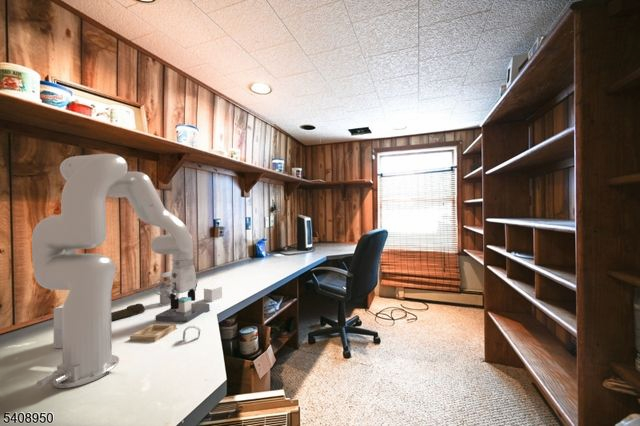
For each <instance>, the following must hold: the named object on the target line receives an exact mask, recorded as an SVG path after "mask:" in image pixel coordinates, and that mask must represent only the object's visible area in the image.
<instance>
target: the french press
mask: <svg viewBox="0 0 640 426" xmlns="http://www.w3.org/2000/svg"><path fill="white" fill-rule="evenodd" d="M167 255H168V256H171V255H172V254H166V256H167ZM171 273H172V271H170V270H168V271H166V272H163V273H162V274H160V275H159V277H160V278H168V281H165V282H162V280H161V279H160V278H159V279H156V281H155V282H154V283H153V285H152V287H153V288H152V290H153V292H154V294H156V295H158V296H159V303H158V304H157V305H159V307H168V305H169V306H171V299H169V297H168V296H167V293H166V290H167V289H168V288H169V287H170V286H171ZM158 282H159V283H160V284H161V286H160V287H159V288H160V290H159V291H160V293H157V292H156V290H155V289H156V288H155V287H156V284H157V283H158ZM174 295H176V293H175V294H174ZM179 297H180V295H179V296H178V298H177V299H180V298H179Z"/></svg>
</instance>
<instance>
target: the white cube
mask: <svg viewBox="0 0 640 426" xmlns="http://www.w3.org/2000/svg"><path fill="white" fill-rule="evenodd" d="M220 298H221V299H223V287H222V286H219V285H211V286H208V287H204V288H203V300H204V301H205V300H207V301H206V302H210V301H213V302H216V301H218V300H220ZM217 299H218V300H217ZM215 300H216V301H215Z"/></svg>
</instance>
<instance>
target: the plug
mask: <svg viewBox="0 0 640 426" xmlns="http://www.w3.org/2000/svg"><path fill="white" fill-rule="evenodd" d="M191 303H192V301H191V297H188V296H183V297H180V298H179V308H178V309H176V312H187V311H189V310H191Z"/></svg>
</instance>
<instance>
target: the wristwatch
mask: <svg viewBox="0 0 640 426" xmlns="http://www.w3.org/2000/svg"><path fill="white" fill-rule="evenodd" d="M188 329H195V330H196V329H197V331H198V332H197V333H198V336H197V339H200V335H201V328H200V327H199V326H196V325H189V326H187V327H186V328H185V329H184V330H183V333H182V340H183V341H184V342H187V338H186V334H187V333H186V331H187V330H188Z"/></svg>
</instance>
